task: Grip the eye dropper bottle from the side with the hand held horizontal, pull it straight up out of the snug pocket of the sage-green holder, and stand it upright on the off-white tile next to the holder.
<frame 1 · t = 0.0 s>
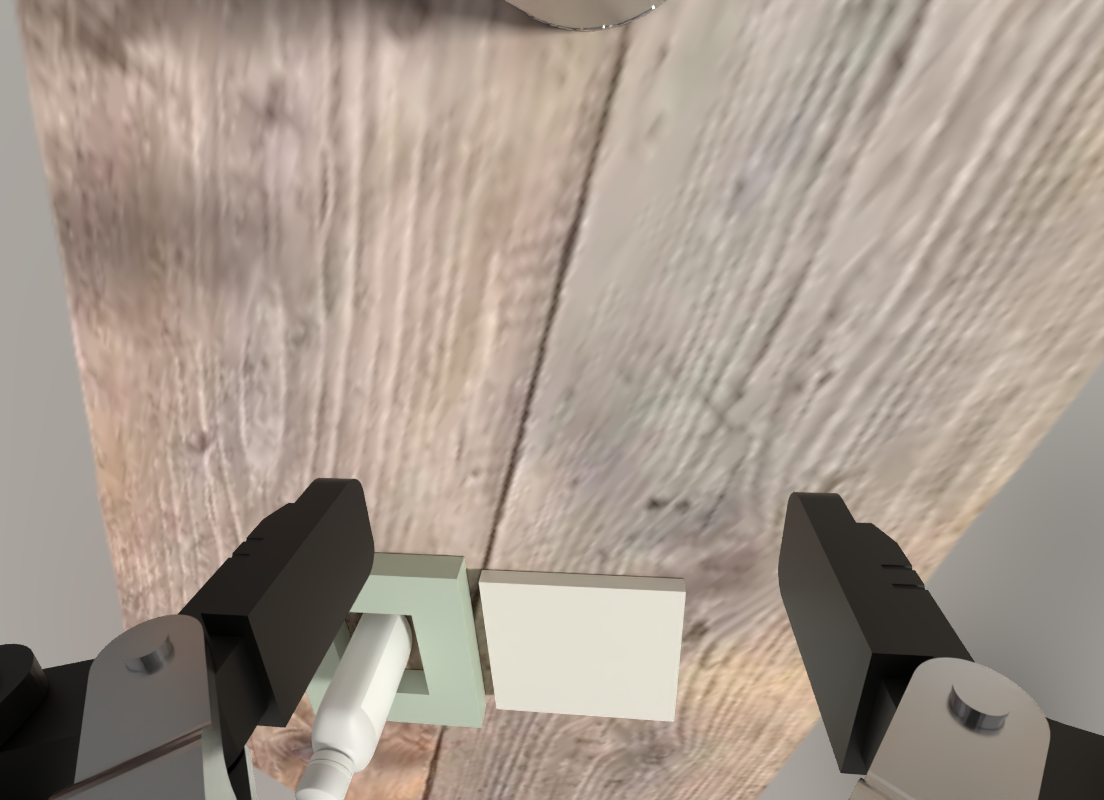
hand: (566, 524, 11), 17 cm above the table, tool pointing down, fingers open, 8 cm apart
holder: (388, 631, 40), on the table
eye dropper bottle: (389, 628, 40), resting in holder
tile: (583, 642, 38), on the table
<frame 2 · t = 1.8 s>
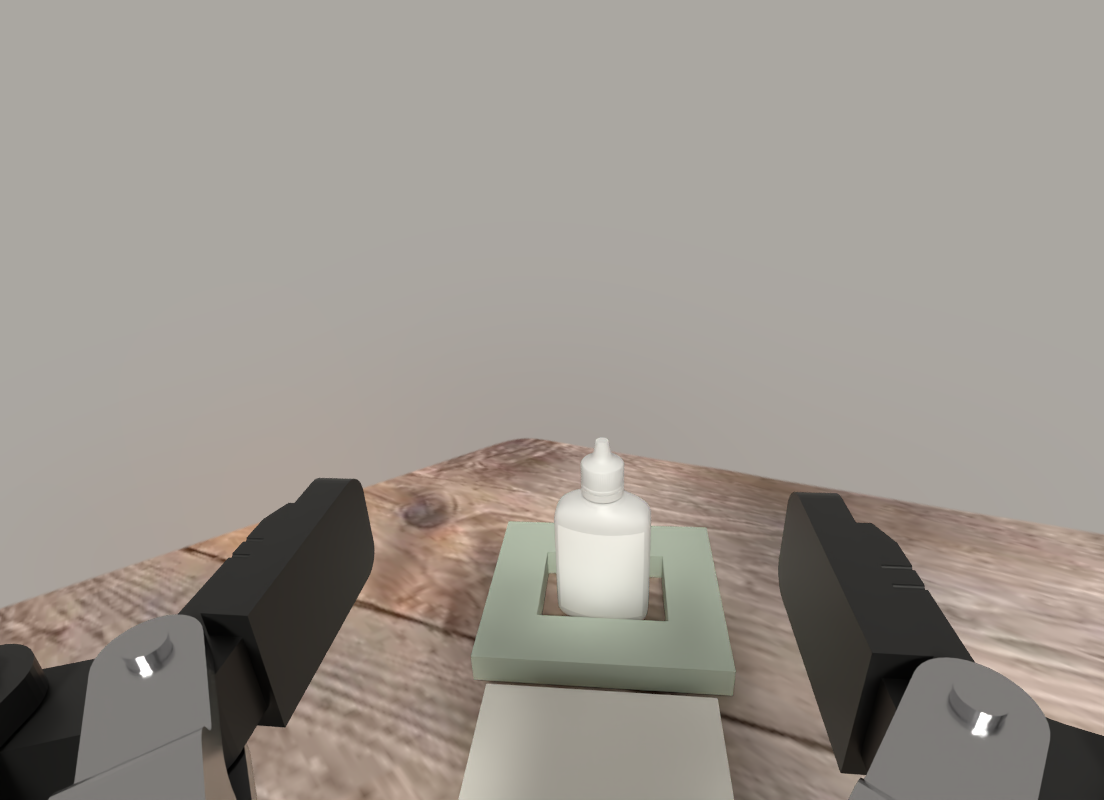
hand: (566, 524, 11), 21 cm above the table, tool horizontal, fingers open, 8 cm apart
holder: (603, 605, 38), on the table
eye dropper bottle: (603, 608, 38), resting in holder
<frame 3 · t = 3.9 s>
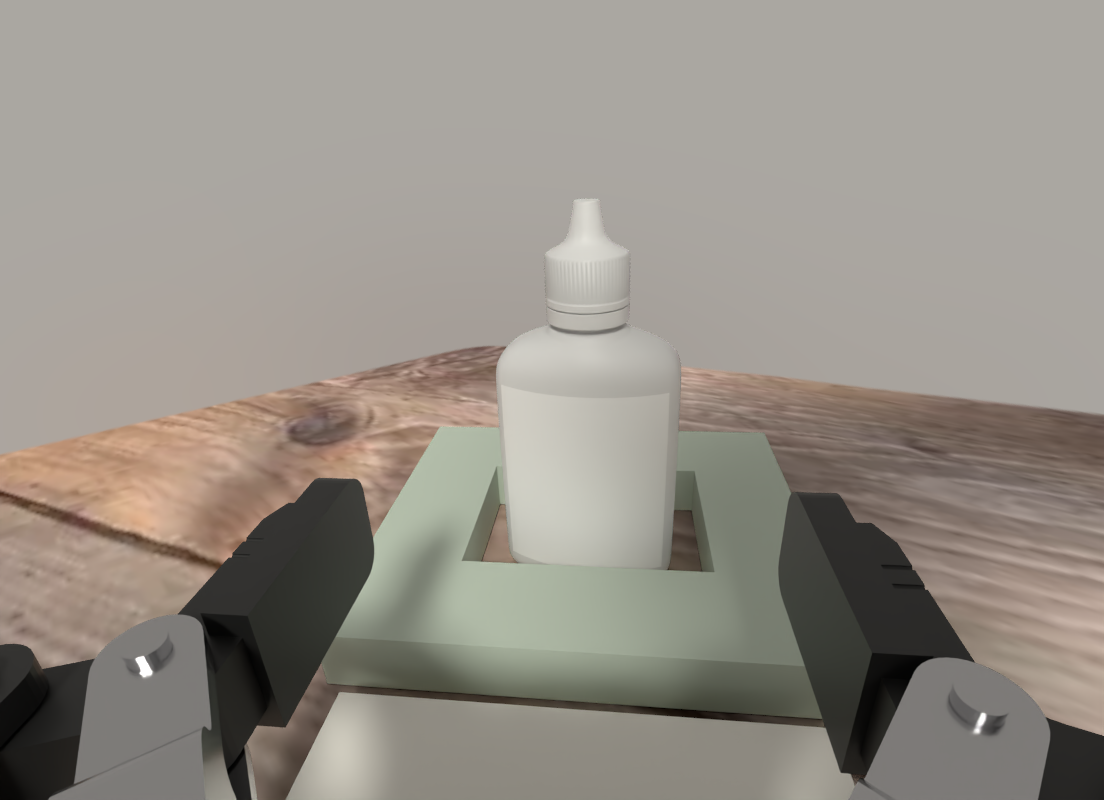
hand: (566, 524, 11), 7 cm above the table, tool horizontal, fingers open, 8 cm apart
holder: (590, 553, 21), on the table
eye dropper bottle: (590, 558, 21), resting in holder
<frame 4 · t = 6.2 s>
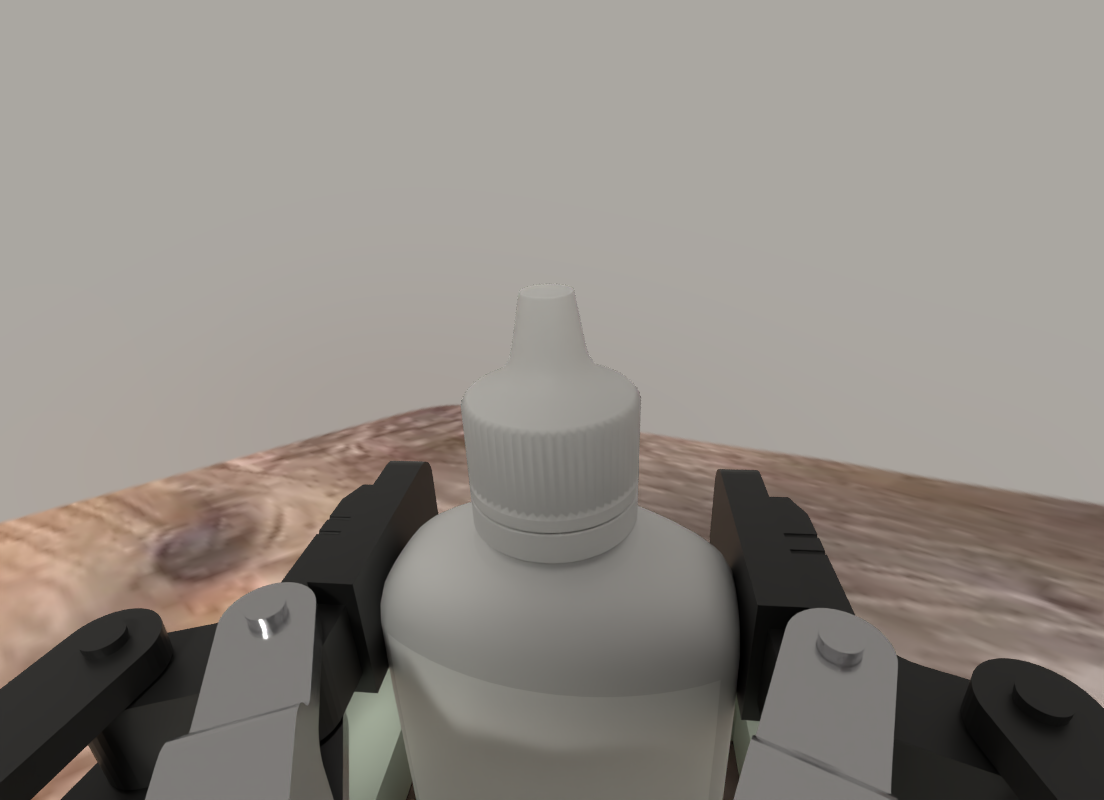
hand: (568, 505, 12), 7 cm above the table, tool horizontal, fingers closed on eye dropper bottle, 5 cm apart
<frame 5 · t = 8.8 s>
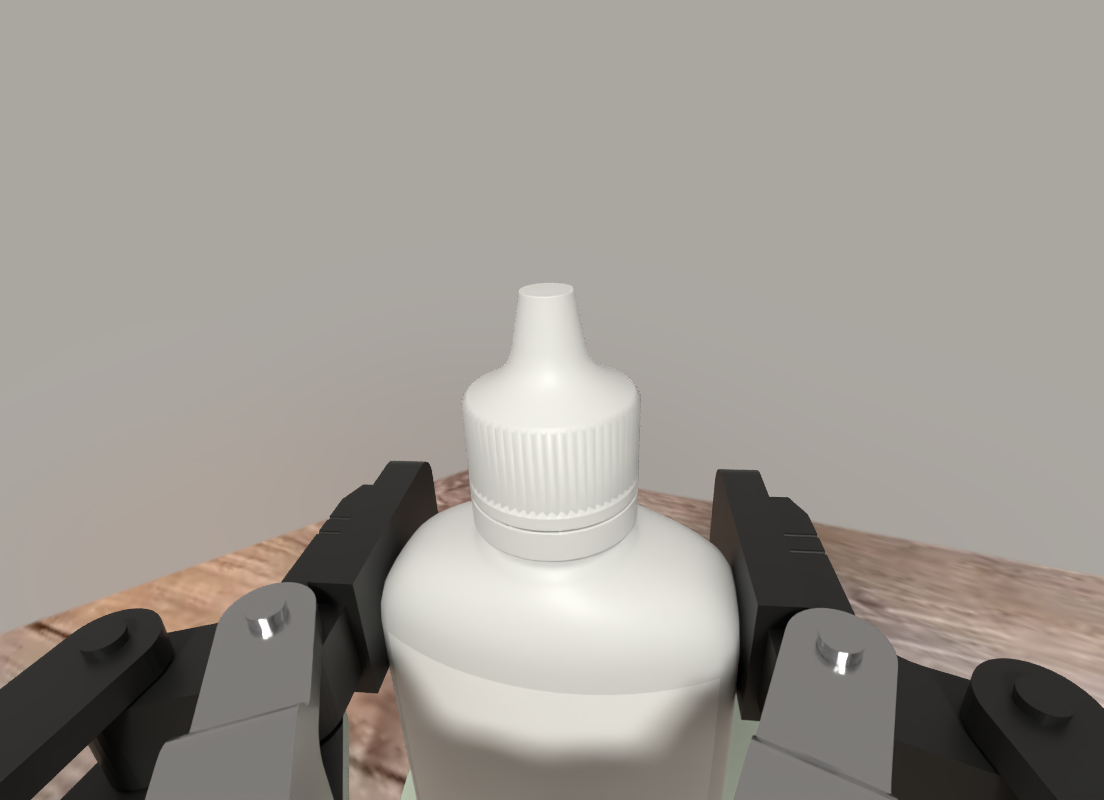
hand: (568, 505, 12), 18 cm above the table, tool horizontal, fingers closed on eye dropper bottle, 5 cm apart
holder: (592, 723, 27), on the table
when the fingers open (9 cm above the table, at t = 11.7 s): eye dropper bottle stays where it is, resting on tile.
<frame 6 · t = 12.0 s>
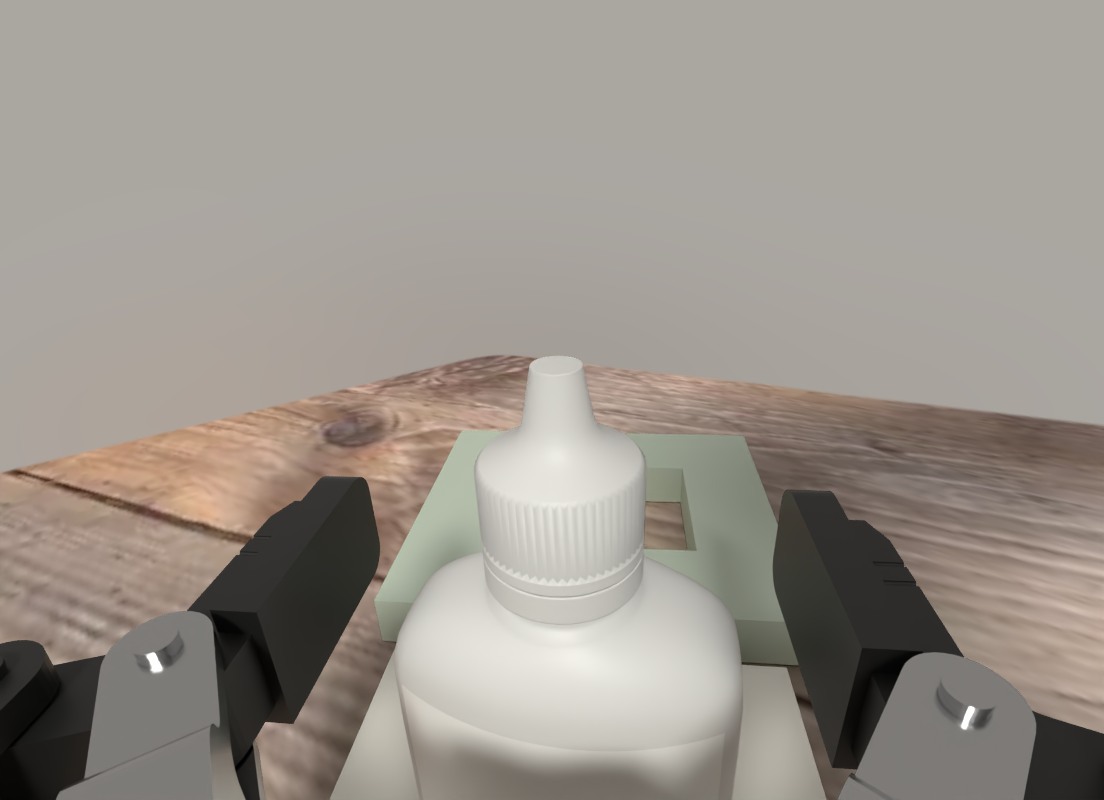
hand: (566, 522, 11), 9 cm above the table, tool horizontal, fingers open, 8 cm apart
holder: (594, 538, 25), on the table
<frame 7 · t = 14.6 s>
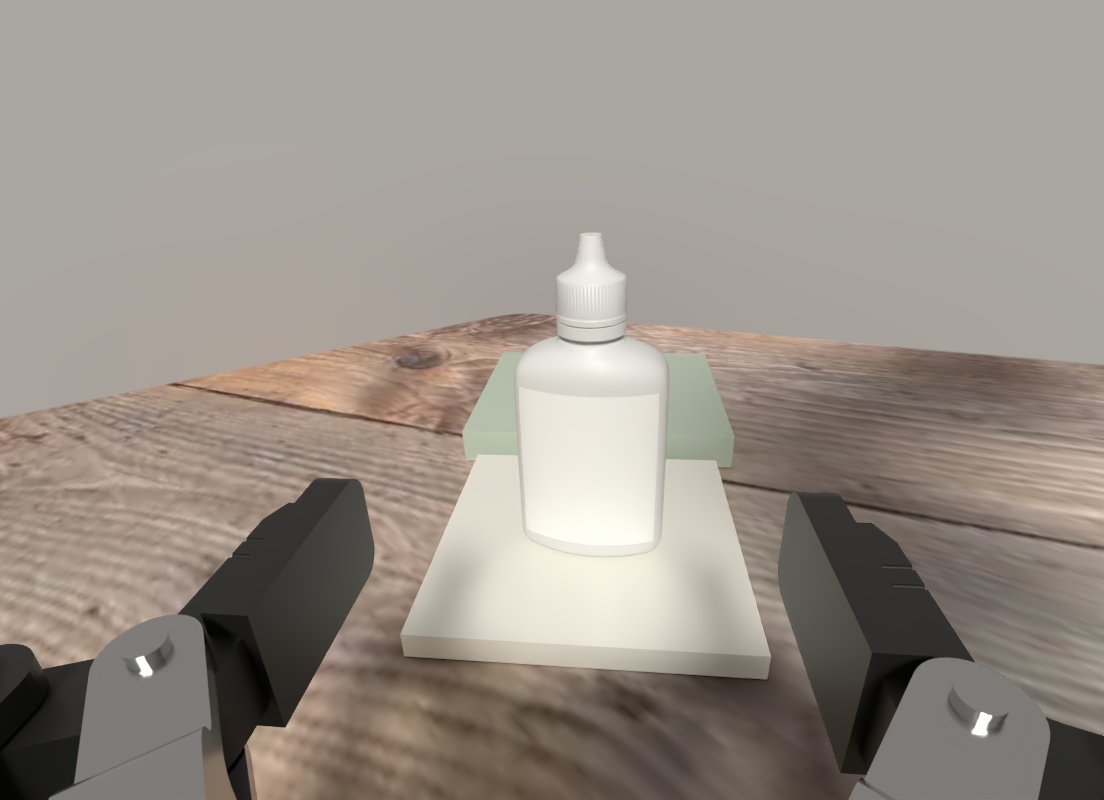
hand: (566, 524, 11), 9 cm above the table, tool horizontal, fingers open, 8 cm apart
holder: (599, 414, 37), on the table
eye dropper bottle: (592, 535, 25), point 1 cm above the table, touching tile
tile: (588, 550, 25), on the table
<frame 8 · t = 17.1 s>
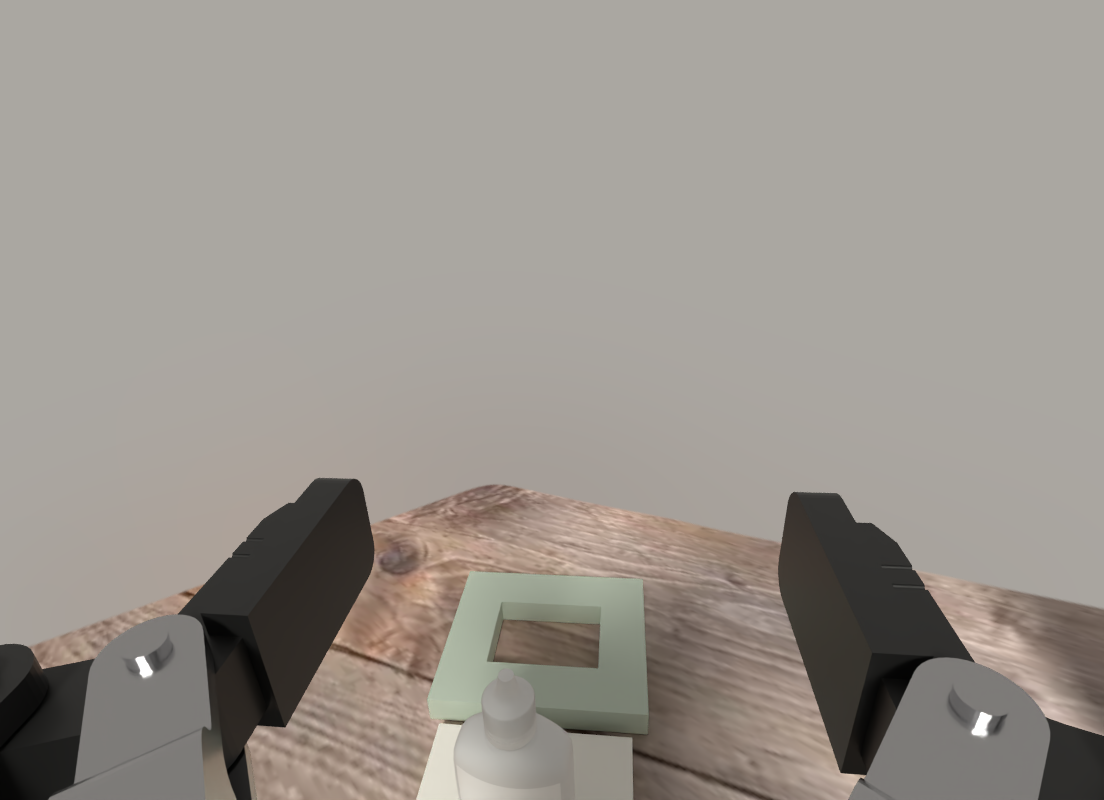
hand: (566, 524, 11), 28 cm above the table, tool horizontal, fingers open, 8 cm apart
holder: (547, 651, 43), on the table
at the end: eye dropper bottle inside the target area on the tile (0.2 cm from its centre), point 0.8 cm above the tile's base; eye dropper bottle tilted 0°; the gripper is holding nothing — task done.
